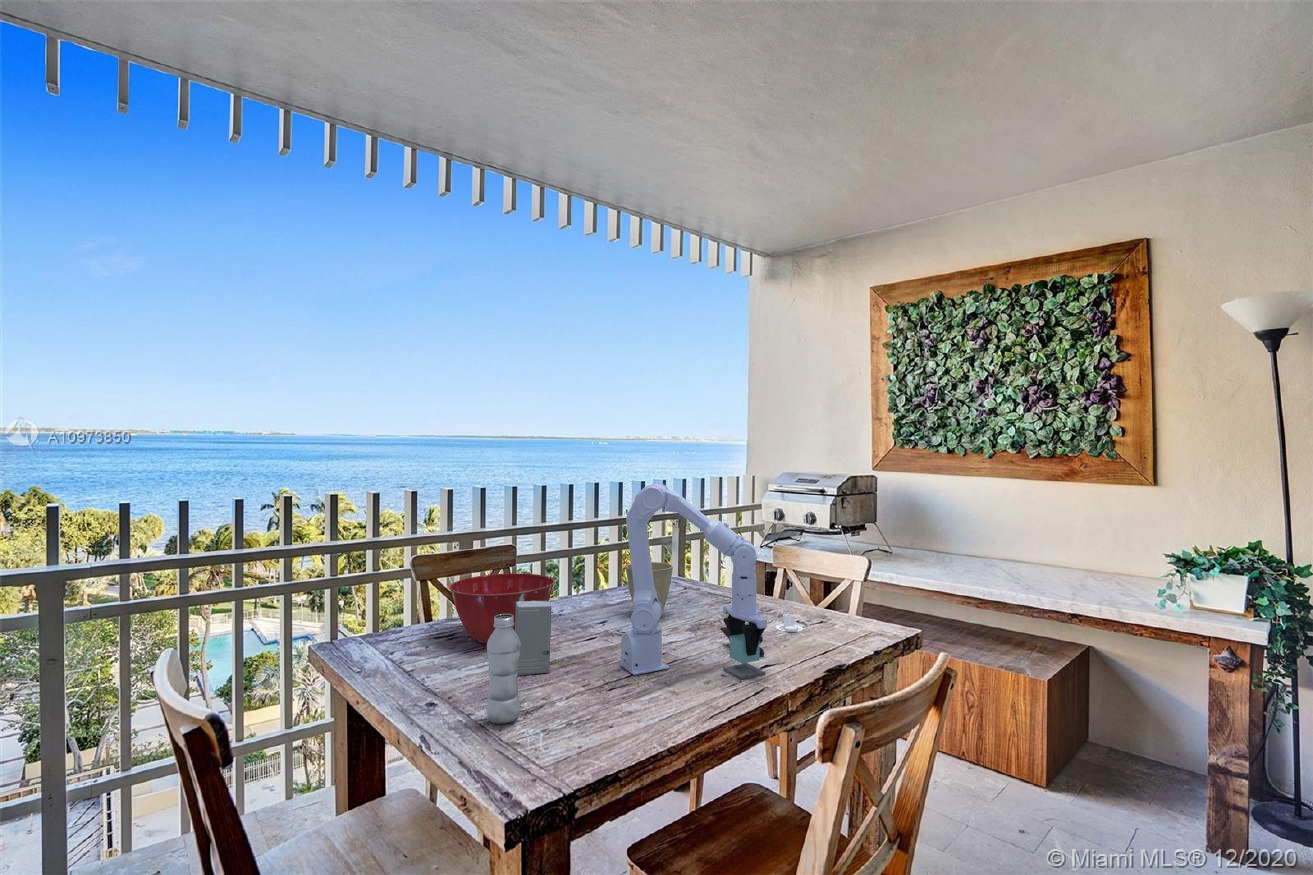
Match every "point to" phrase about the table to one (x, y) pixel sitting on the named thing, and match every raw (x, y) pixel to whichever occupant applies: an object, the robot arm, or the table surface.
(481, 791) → the table surface
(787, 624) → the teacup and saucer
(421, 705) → the table surface
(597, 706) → the table surface
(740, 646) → the teal cube
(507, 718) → the plastic bottle
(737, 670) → the slate coaster
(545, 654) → the skincare box
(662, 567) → the plant pot
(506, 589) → the mixing bowl
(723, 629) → the dark brown lumpy figure
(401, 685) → the table surface
